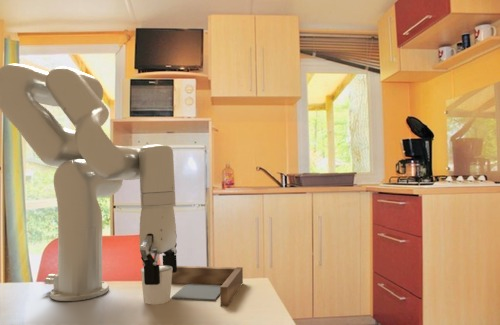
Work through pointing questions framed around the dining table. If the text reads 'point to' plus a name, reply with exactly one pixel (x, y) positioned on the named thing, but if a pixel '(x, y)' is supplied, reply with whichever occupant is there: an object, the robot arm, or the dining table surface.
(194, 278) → the wooden corner fence
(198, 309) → the dining table surface
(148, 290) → the white cup
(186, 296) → the pad
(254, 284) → the dining table surface
